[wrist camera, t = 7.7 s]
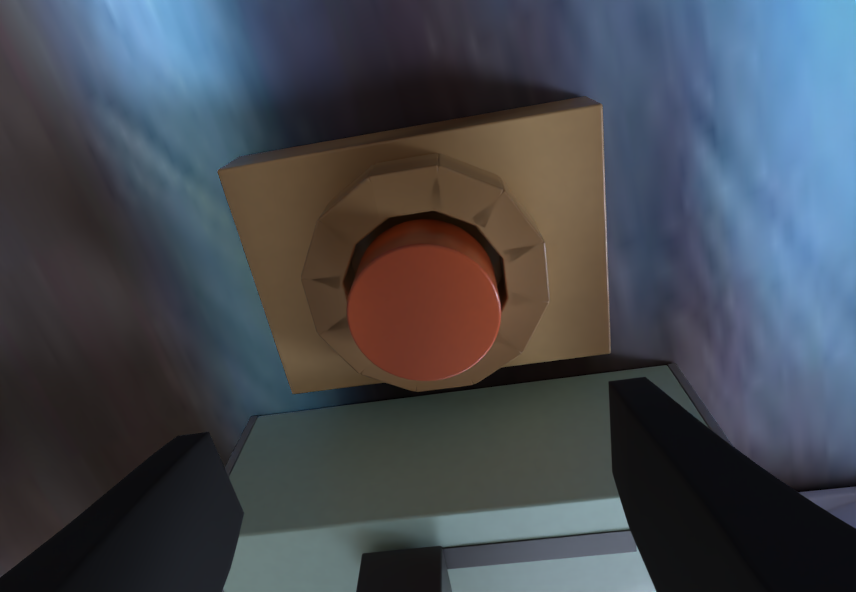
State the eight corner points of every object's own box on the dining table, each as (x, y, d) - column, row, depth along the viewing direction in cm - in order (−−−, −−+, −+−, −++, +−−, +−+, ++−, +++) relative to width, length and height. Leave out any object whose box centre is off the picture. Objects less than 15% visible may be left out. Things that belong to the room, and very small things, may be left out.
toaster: (675, 362, 21) (759, 483, 15) (671, 549, 25) (734, 695, 19) (250, 416, 22) (186, 542, 17) (314, 582, 26) (280, 726, 21)
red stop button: (485, 207, 15) (491, 232, 13) (502, 334, 17) (509, 372, 15) (342, 230, 15) (329, 257, 14) (373, 351, 17) (364, 391, 15)
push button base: (586, 95, 17) (620, 111, 13) (597, 326, 20) (625, 382, 17) (237, 156, 18) (192, 183, 14) (304, 365, 21) (279, 424, 18)
